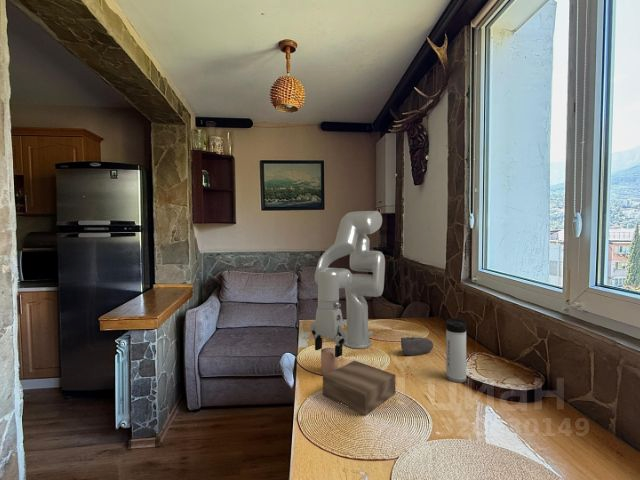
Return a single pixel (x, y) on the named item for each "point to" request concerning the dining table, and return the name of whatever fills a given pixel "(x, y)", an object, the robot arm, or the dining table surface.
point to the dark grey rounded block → (416, 345)
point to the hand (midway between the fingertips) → (328, 352)
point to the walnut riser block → (359, 386)
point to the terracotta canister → (328, 360)
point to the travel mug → (456, 350)
